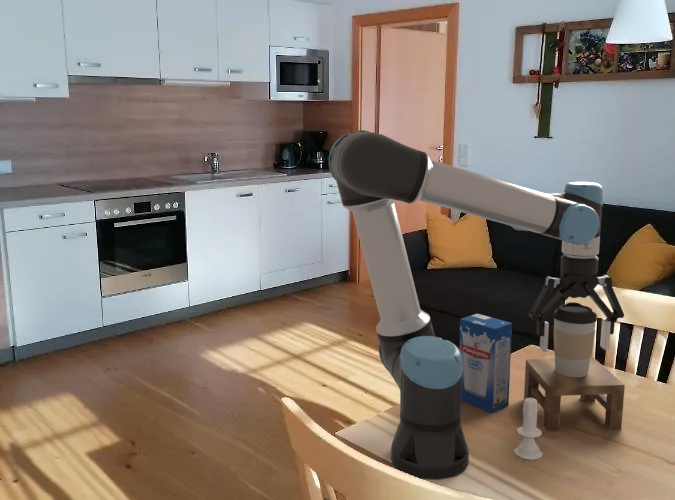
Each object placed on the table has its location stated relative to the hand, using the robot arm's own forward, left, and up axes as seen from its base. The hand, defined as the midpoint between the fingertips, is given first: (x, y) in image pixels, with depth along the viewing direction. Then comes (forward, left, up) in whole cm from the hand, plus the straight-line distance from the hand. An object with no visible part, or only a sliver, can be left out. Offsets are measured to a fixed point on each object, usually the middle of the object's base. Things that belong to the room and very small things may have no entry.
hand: (574, 349), depth 148 cm
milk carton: (-18, +7, -15) cm, 25 cm away
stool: (0, 0, -15) cm, 15 cm away
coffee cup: (0, 0, -5) cm, 5 cm away
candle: (-15, -17, -16) cm, 27 cm away
